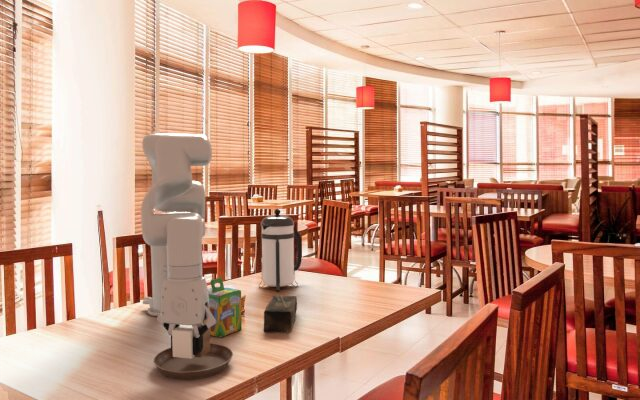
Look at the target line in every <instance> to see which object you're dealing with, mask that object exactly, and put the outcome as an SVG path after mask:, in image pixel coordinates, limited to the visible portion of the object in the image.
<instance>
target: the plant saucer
mask: <svg viewBox="0 0 640 400" xmlns="http://www.w3.org/2000/svg"><path fill="white" fill-rule="evenodd" d="M233 356H234V352H233V350H232V349H231V348H229V347H228V346H225V345H224V344H223V345H222V344H219V343H213V342H210V351H209V352H208V353H207V354H205V355H204V356H202V357H201V358H199V357H193V358H191V359H190V358H179V357H173V353H172V348H171V347H169V348H166V349H164V350H162V351H160V352H158V353H157V354H156V355H155V356H154V358H153V363H154V366H155V367H156V368H157V369H158V370H159V371H160V372H161V373H162V375H164V377H165V376H166V377H167V378H170V379H174V380H180V381H181V380H184V381H185V380H198V379H204V378H208V377H211V376H215V375H216V374H219V373H220V372H222V371H223V370H224V369H225V368H226V367H227V366H228V365H229V363H230V362H231V361H232V358H233Z"/></svg>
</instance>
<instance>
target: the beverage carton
mask: <svg viewBox="0 0 640 400" xmlns="http://www.w3.org/2000/svg"><path fill="white" fill-rule="evenodd" d="M297 298H298V297H297V296H295V295H282V294H277V295H273V296H272V297H271V299H270V301H269V302H268V304H267V306H266V308H265V309H264V312H263V332H264V333H288V334H289V333H291V331H292V329H293V326H294V323H295V320H296V319H295V318H296V315H297V310H298V306H297V305H298V302H297V301H298V299H297Z"/></svg>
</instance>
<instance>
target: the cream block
mask: <svg viewBox="0 0 640 400" xmlns="http://www.w3.org/2000/svg"><path fill="white" fill-rule="evenodd" d="M193 337H194V332H193V327H192V325H180V326H179V327H177V328H175V329H173V330H172V347H173V357H179V358H190V359H191V358H193V357H194V356H195V355H193V342H192V339H193Z"/></svg>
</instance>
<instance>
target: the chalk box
mask: <svg viewBox="0 0 640 400" xmlns="http://www.w3.org/2000/svg"><path fill="white" fill-rule="evenodd" d="M216 284H219V286H215V285H216ZM210 286H211V288H208V295H209V305H210V312H211V313H212V315H213V316H214V318H215V319H216V321H217V322H216V324H214V325H213V326H212V327H210V336H212V337H217V338H223V337H225V336H228V335H230V334H233V333H236V332H238V331H241V330H242V290H240V289H234V288H232V287H225V285H224V282H223V277H217V278H214V279H211V280H210ZM206 323H207V320H203V324H204V325H205V324H206Z"/></svg>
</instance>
